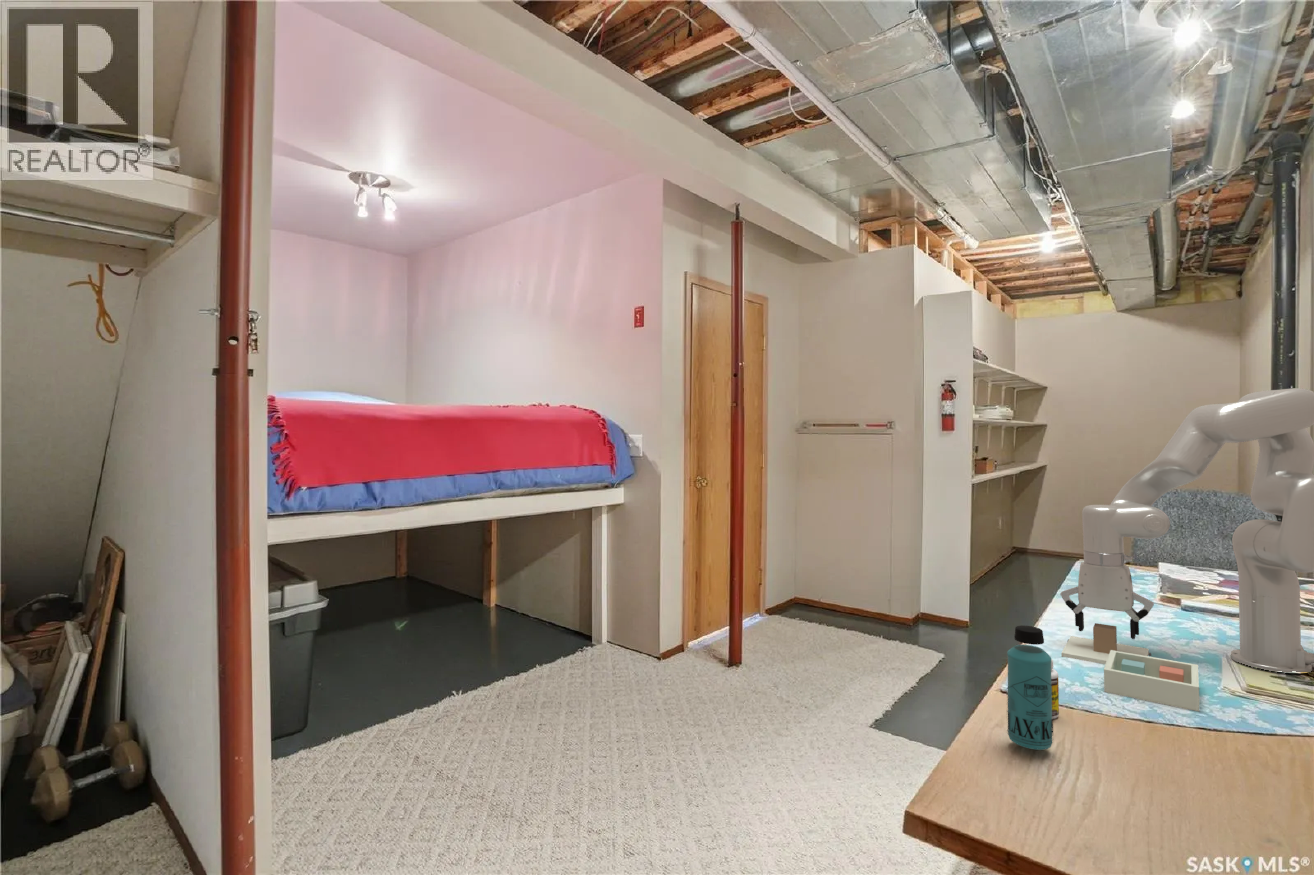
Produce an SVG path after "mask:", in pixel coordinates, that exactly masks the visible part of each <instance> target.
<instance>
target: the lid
mask: <svg viewBox="0 0 1314 875" xmlns="http://www.w3.org/2000/svg"><path fill="white" fill-rule="evenodd" d="M1092 628H1093V630H1092V631H1093V634H1092V635H1093V639H1092V638H1091V639H1090V638H1086V637H1080V636H1074V635H1070V636H1069V638H1068V639H1069V640H1068V639H1067V641H1068V642H1066V643H1065V646H1064V647H1063V649H1062V651H1061V657H1063V658H1070V659H1073V660H1079V661H1084V662H1090V663H1094V664H1095V663H1096V664H1101V665H1104V666H1105V665H1106V662H1107V659H1108V656H1109V653H1110V651H1111V650H1114V651H1120V652H1126V653H1132V654H1138V655H1143V656H1148V655H1149V653H1150V652H1149V651H1150V650H1149V648H1145V647H1141V646H1133V645H1128V644H1122V643H1118V642H1117V640H1118V636H1117V635H1118V634H1117V632H1118V631H1117V628H1118V627H1117V626H1116V625H1110V624H1105V623H1094V625H1093V627H1092Z"/></svg>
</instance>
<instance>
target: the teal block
mask: <svg viewBox="0 0 1314 875" xmlns="http://www.w3.org/2000/svg"><path fill="white" fill-rule="evenodd" d="M1121 668H1122V671H1124V672H1129V673H1135V674H1140V675H1145V663H1143V662H1138V661H1132V660H1127V659H1123V660H1122V664H1121Z"/></svg>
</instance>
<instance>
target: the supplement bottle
mask: <svg viewBox="0 0 1314 875" xmlns="http://www.w3.org/2000/svg"><path fill="white" fill-rule="evenodd" d="M1059 685H1060V684H1059V672H1058V671H1057V670H1056V669H1055V668H1054V660H1053V659H1052V662H1051V686H1052V690H1053V691H1052V706H1053V708H1052V720H1055V719H1057V718H1058V716H1060V715H1059V714H1060V701H1059V699H1060V695H1059V694H1060V693H1059V688H1060V687H1059Z"/></svg>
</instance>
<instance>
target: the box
mask: <svg viewBox="0 0 1314 875" xmlns="http://www.w3.org/2000/svg"><path fill="white" fill-rule="evenodd" d="M1123 659H1127V660H1132V661H1138V662H1143V663H1145V675H1140V674H1135V673H1129V672H1124V671H1122V668H1121V664H1122V660H1123ZM1160 666H1166V667H1172V668H1177V669H1183V672H1184V683H1183V682H1177V681H1172V680H1167V679H1161V678H1159V670H1160ZM1199 677H1200V676H1199V665H1198V664H1194V663H1191V662H1190V663H1188V662H1183V661H1176V660H1170V659H1168V658H1167V659H1165V658H1161V657H1153V656H1143V655H1138V654H1132V653H1126V652H1120V651H1114V650H1111V651H1110V653H1109V656H1108V659H1107V662H1106V665H1105V664H1104V668H1103V685H1104V686H1103V688H1104V690H1103V692H1104V693H1108V694H1113V695H1118V696H1122V697H1127V698H1131V699H1135V700H1136V699H1137V700H1141V701H1144V702H1145V701H1147V702H1150V703H1155V704H1160V705H1165V706H1168V707H1169V706H1170V707H1176V708H1180V709H1184V710H1189V711H1193V712H1199V713H1200V685H1199V684H1200V682H1199V681H1200V679H1199Z"/></svg>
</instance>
